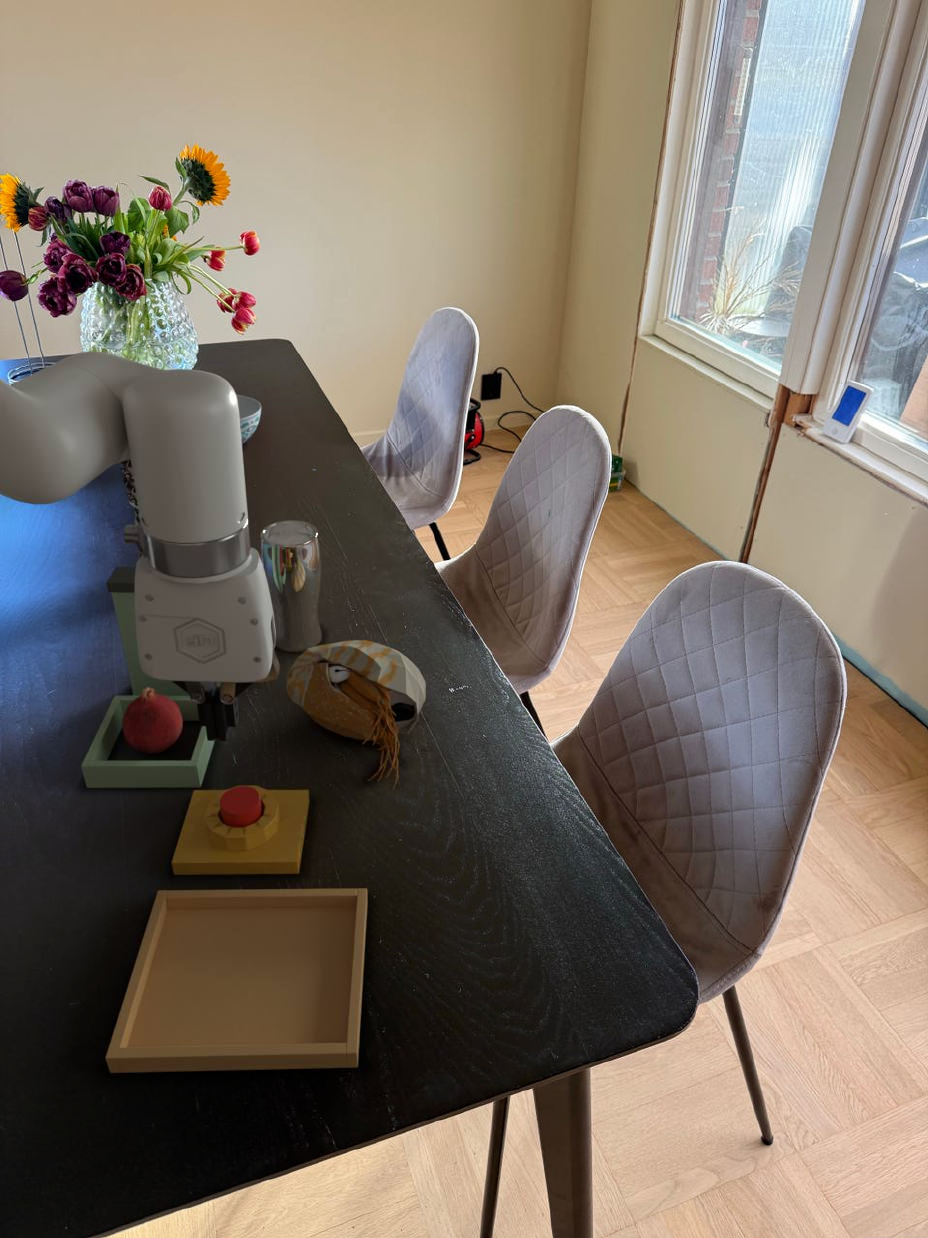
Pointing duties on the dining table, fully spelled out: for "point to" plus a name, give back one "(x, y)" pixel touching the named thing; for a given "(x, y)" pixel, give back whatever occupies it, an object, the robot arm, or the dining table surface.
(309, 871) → the dining table surface
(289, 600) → the beer glass
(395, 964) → the dining table surface
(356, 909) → the oak tray
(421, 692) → the nautilus
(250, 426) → the chinaware
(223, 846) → the button panel
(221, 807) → the button
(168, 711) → the pomegranate
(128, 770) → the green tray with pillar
